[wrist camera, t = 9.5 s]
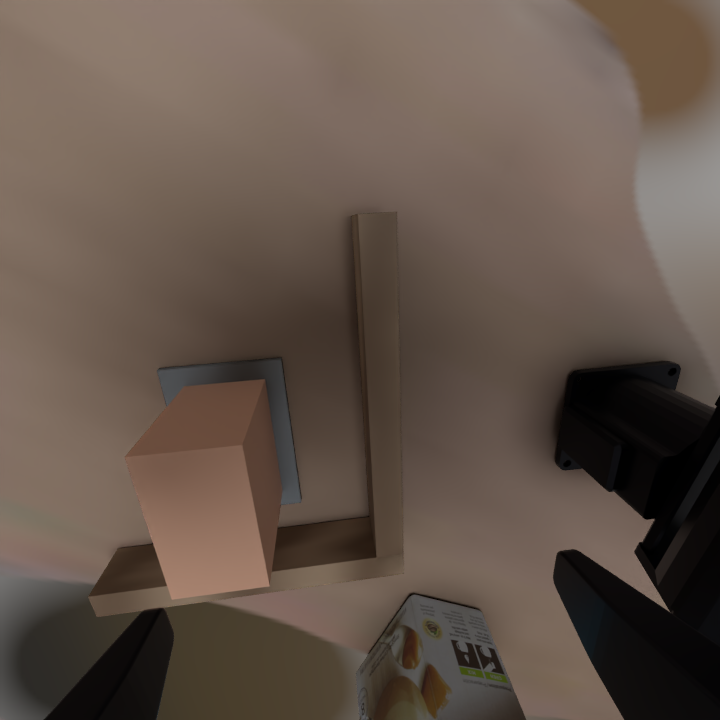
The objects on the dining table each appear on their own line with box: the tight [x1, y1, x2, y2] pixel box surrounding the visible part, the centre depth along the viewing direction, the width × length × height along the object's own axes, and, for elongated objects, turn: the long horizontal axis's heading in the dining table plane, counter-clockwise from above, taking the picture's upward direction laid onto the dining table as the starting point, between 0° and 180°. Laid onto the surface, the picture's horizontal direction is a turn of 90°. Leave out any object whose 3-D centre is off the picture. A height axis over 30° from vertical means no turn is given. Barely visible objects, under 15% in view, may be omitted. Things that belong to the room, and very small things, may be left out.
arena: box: [88, 212, 404, 617], centre depth 18 cm, size 16×19×3 cm
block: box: [125, 379, 283, 600], centre depth 17 cm, size 7×4×6 cm, turn 3°
